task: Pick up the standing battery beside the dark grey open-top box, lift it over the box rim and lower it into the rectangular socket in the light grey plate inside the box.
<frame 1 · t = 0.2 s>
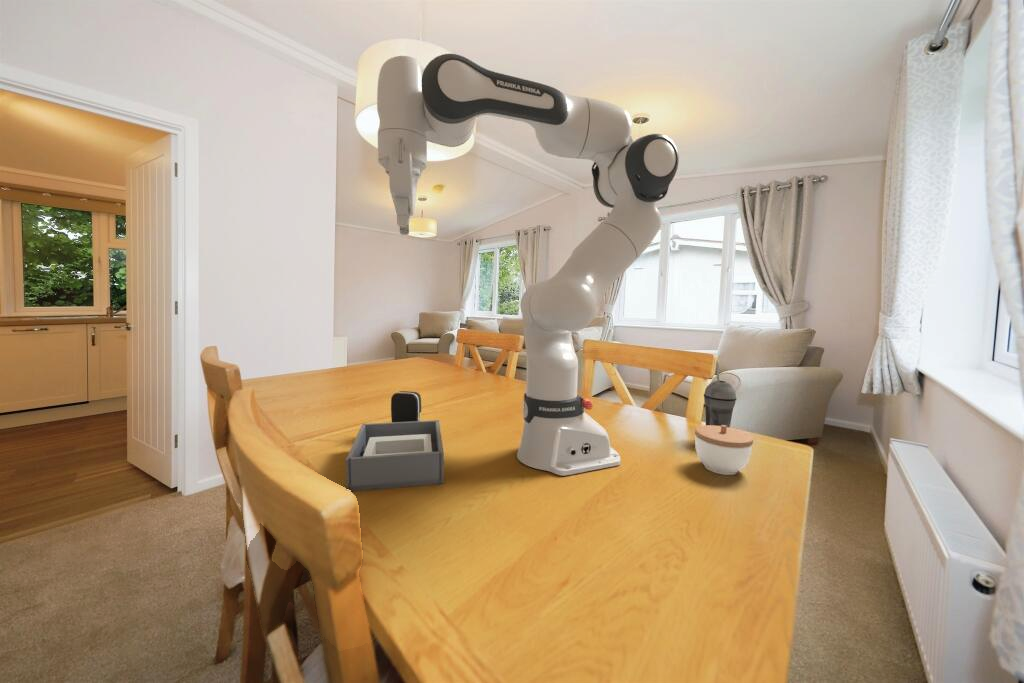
hand: (403, 230, 75), 47 cm above the table, tool pointing down, fingers open, 8 cm apart
lidded jar: (720, 469, 82), on the table
socket box: (399, 464, 81), on the table
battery: (407, 437, 98), on the table
beverage cup: (716, 442, 98), on the table
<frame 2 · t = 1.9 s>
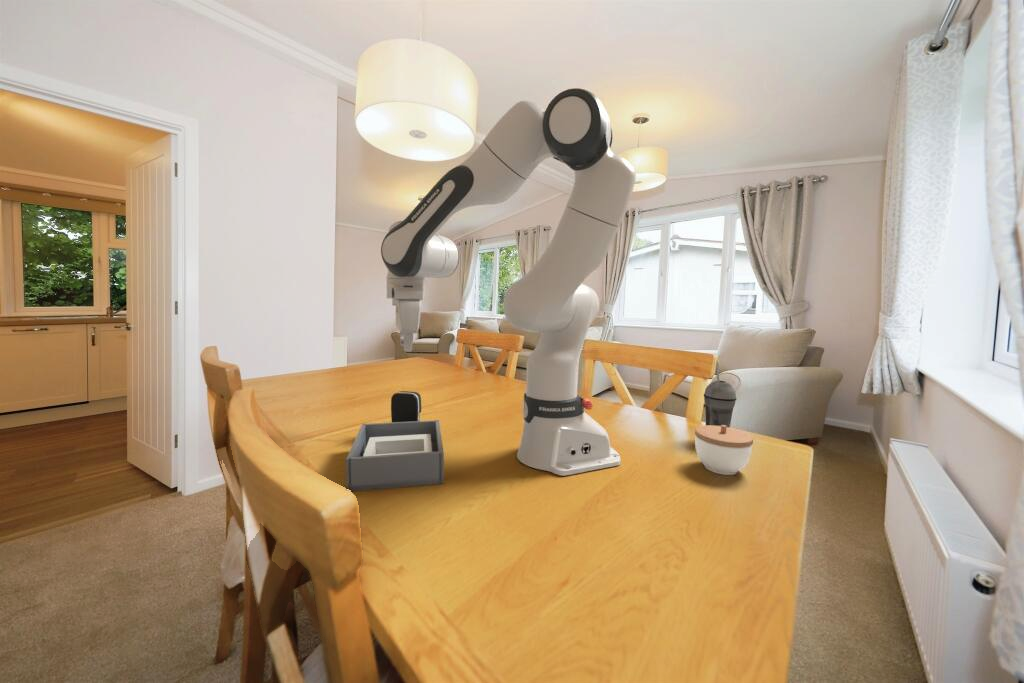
hand: (406, 348, 95), 22 cm above the table, tool pointing down, fingers open, 8 cm apart
nothing on the table moved.
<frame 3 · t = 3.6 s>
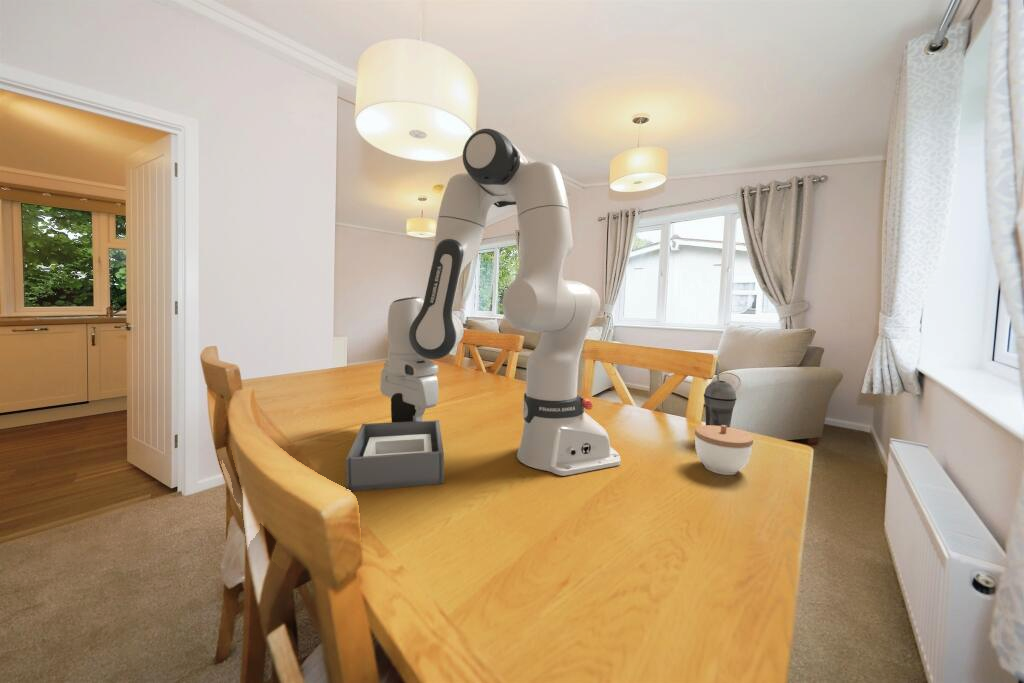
hand: (407, 418, 97), 5 cm above the table, tool pointing down, fingers closed on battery, 7 cm apart
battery: (407, 437, 98), on the table, touching gripper
everything else where it was.
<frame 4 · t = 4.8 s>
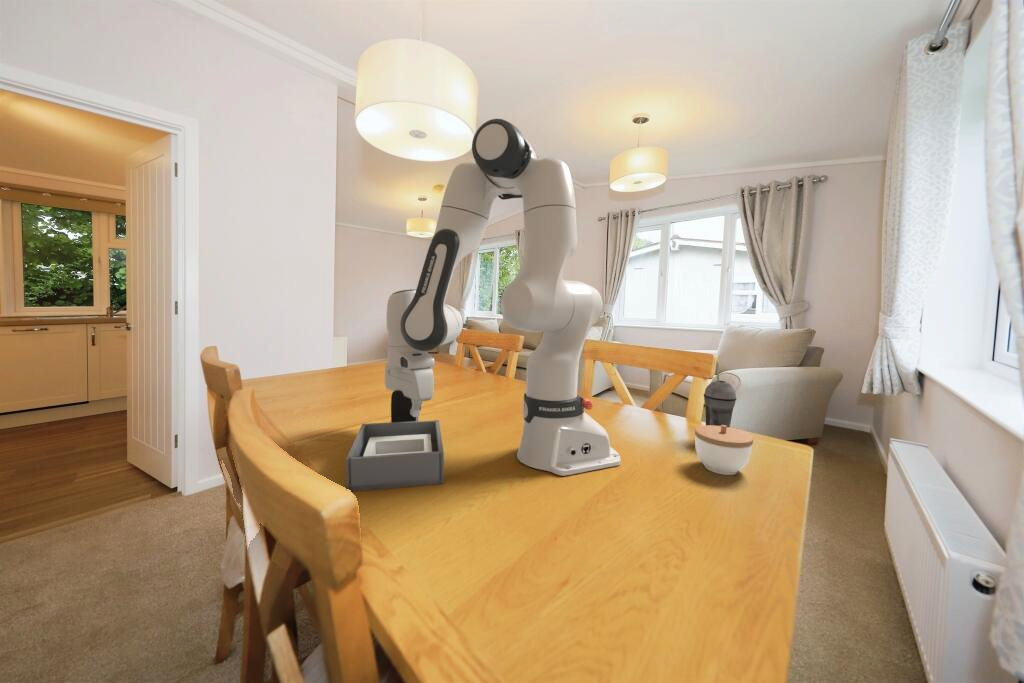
hand: (407, 412, 96), 6 cm above the table, tool pointing down, fingers closed on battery, 7 cm apart
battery: (405, 431, 98), point 1 cm above the table, touching gripper
everything else where it was.
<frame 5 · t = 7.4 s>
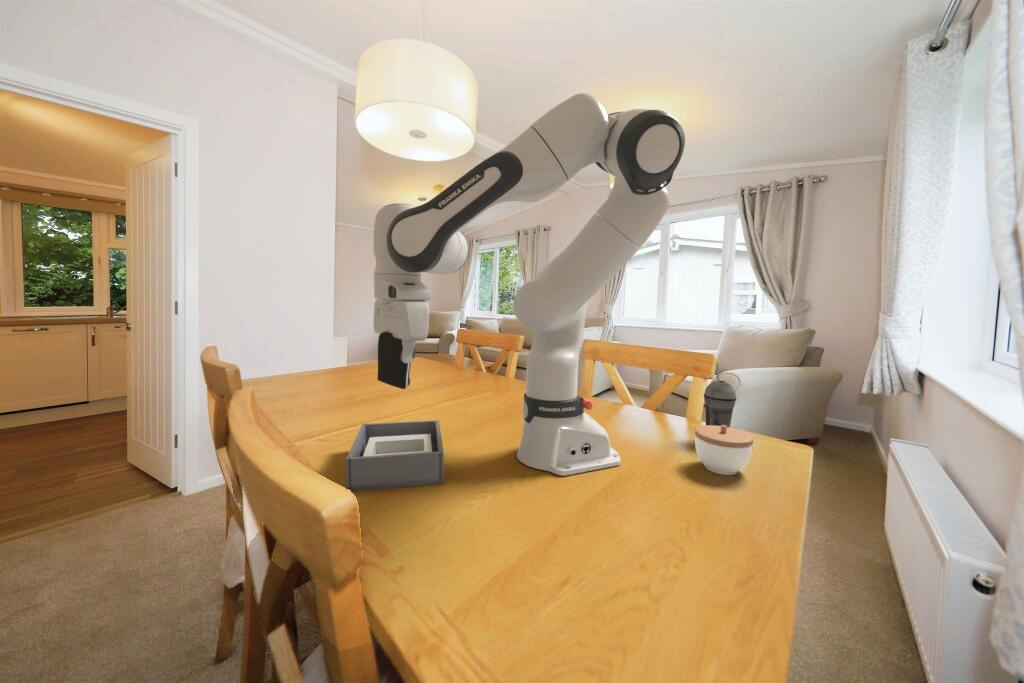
hand: (398, 359, 79), 22 cm above the table, tool pointing down, fingers closed on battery, 7 cm apart
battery: (395, 383, 81), point 17 cm above the table, touching gripper
everything else where it was.
when the fingers open (9 cm above the table, at t = 9.6 s): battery drops 1 cm, resting on socket box.
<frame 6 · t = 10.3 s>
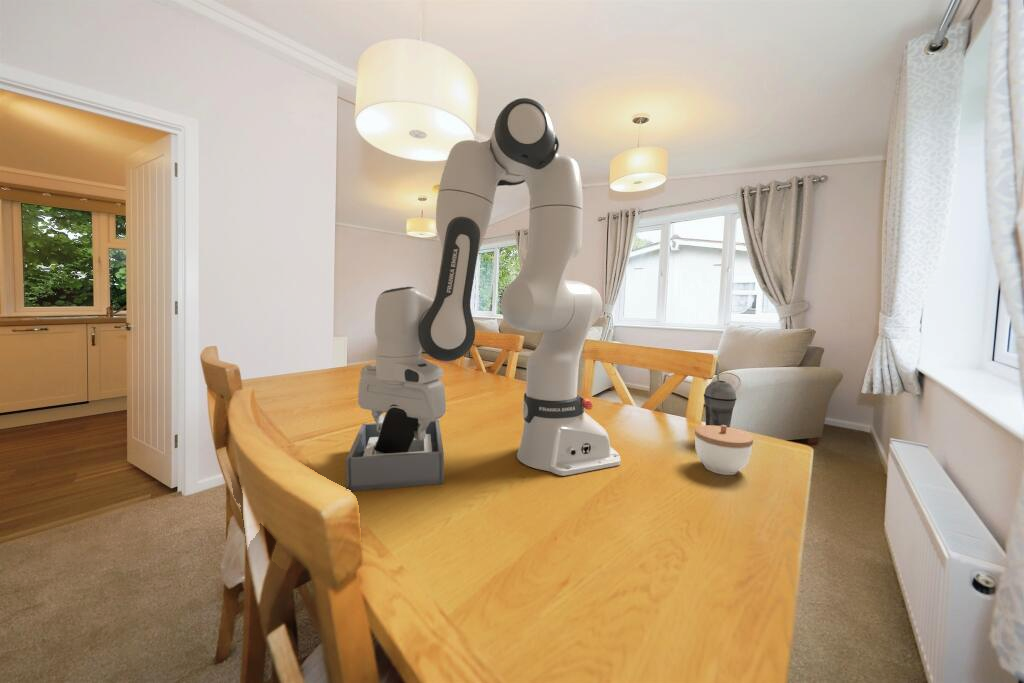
hand: (400, 434, 80), 7 cm above the table, tool pointing down, fingers open, 8 cm apart
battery: (391, 450, 82), point 2 cm above the table, touching gripper, socket box
everything else where it was.
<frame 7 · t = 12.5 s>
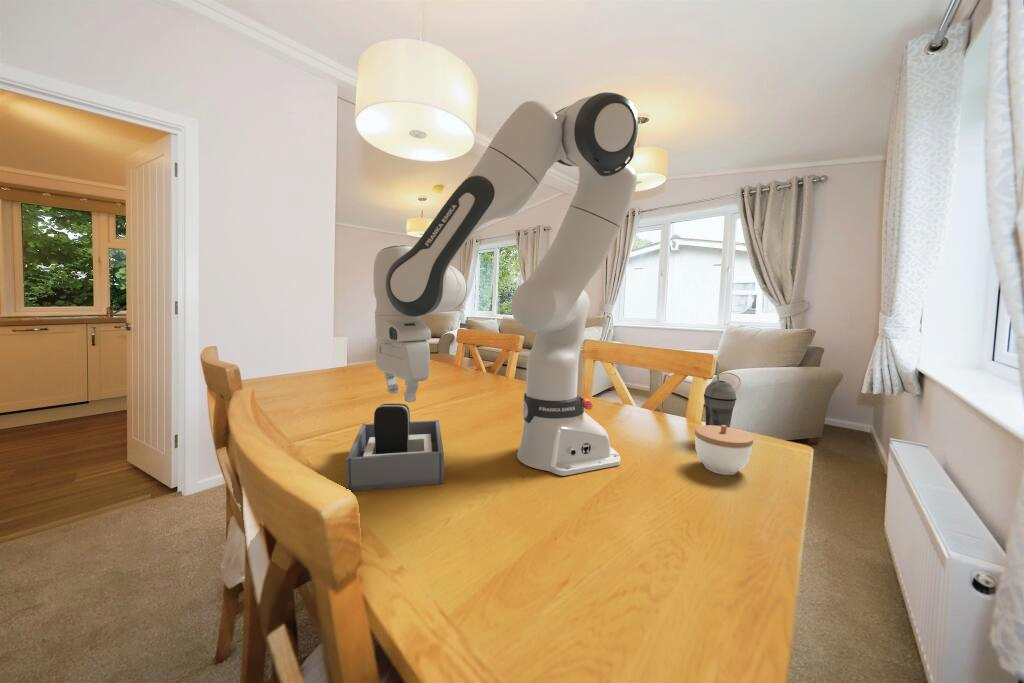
hand: (401, 397, 79), 14 cm above the table, tool pointing down, fingers open, 8 cm apart
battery: (393, 457, 82), point 1 cm above the table, touching socket box
everything else where it was.
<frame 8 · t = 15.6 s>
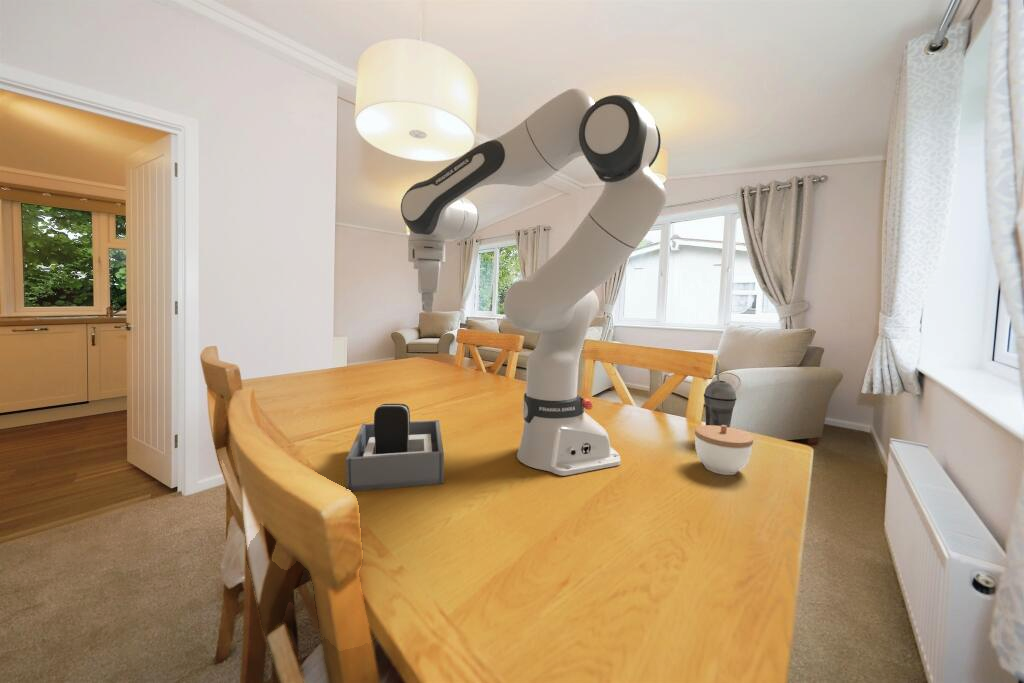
hand: (427, 312, 96), 31 cm above the table, tool pointing down, fingers open, 8 cm apart
nothing on the table moved.
at the end: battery 2.4 cm off-centre on the socket box, point 0.8 cm above the socket box's base; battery tilted 0°; the gripper is holding nothing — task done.
